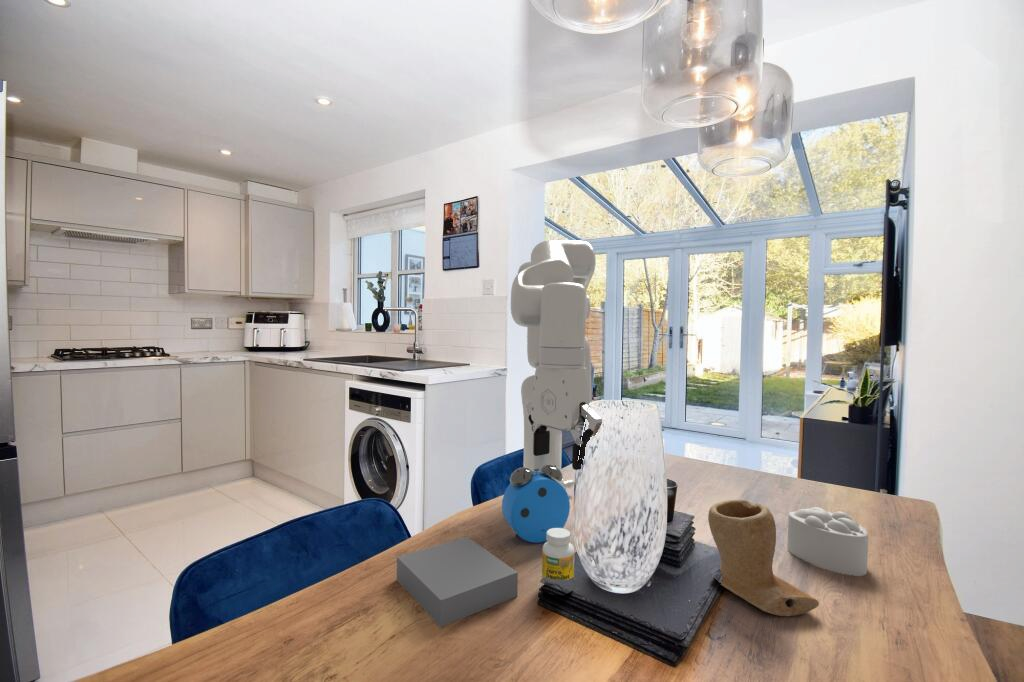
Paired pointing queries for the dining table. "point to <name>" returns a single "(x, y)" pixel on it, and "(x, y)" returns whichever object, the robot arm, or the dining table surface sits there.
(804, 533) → the lumpy-topped squat cylinder
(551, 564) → the supplement bottle
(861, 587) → the dining table surface
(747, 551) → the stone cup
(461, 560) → the riser block
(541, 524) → the alarm clock
